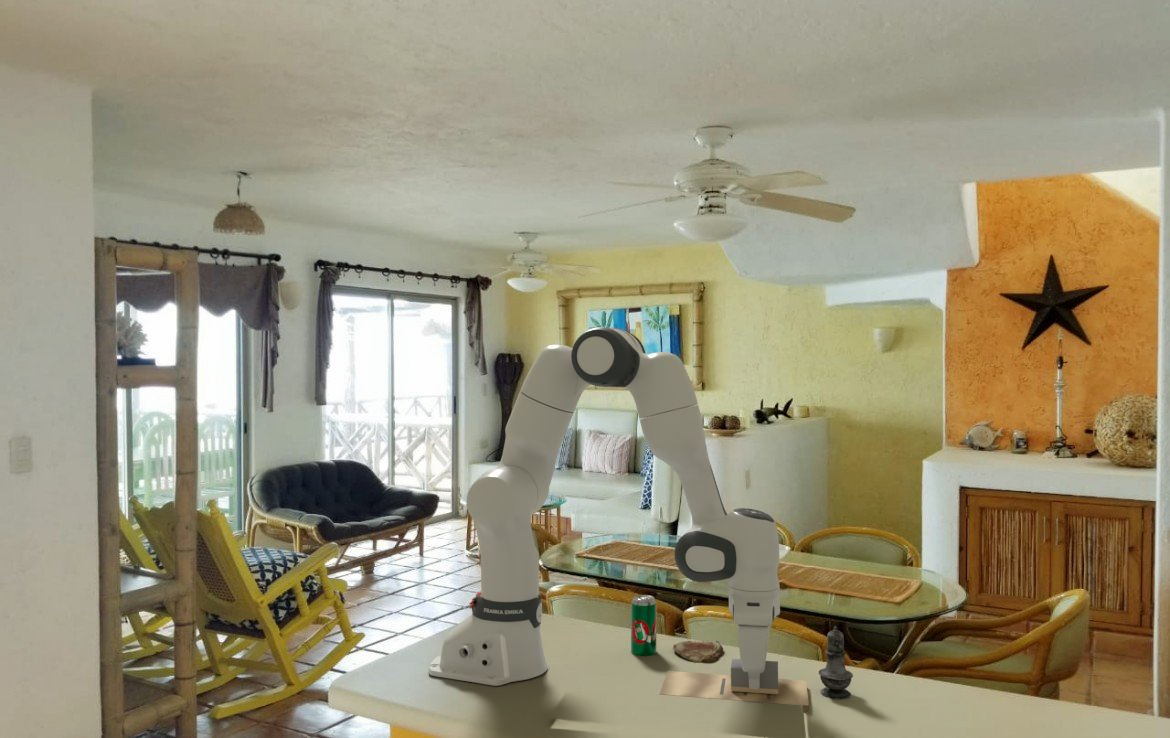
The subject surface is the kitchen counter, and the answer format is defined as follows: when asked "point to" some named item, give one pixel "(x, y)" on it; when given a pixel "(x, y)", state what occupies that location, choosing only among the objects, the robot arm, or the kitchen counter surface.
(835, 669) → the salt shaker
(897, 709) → the kitchen counter surface
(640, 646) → the soda can
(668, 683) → the board
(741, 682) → the block
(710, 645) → the oyster shell
